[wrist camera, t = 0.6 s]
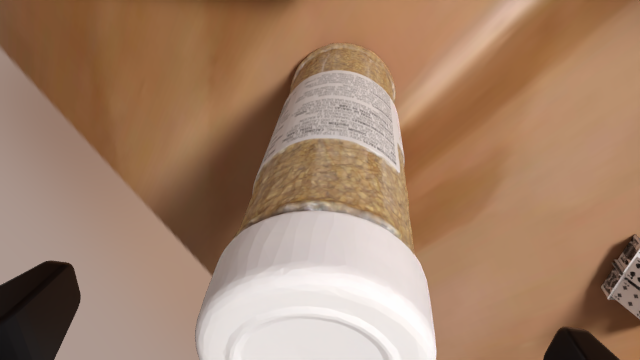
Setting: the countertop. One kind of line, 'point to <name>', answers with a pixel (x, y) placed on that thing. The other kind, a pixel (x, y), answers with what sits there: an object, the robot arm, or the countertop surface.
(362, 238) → the sprinkles bottle
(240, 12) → the countertop surface
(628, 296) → the house of cards
